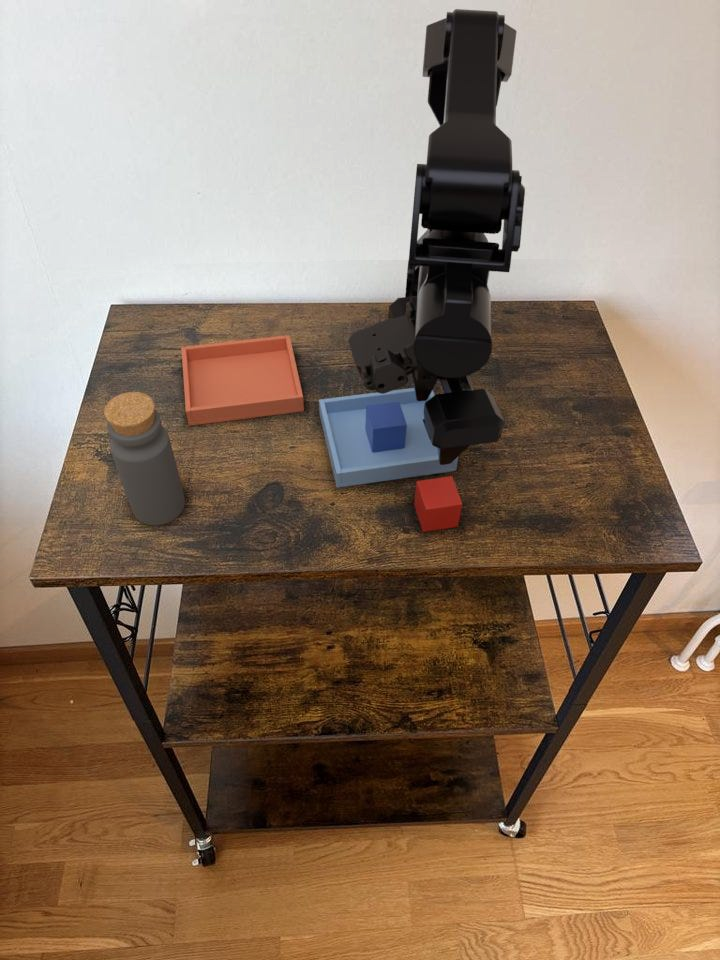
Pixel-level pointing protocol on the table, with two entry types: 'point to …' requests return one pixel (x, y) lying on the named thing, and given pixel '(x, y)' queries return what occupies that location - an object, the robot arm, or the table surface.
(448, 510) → the red block
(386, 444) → the blue block
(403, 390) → the blue tray
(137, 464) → the bottle
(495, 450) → the table surface
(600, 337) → the table surface
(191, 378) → the orange tray
